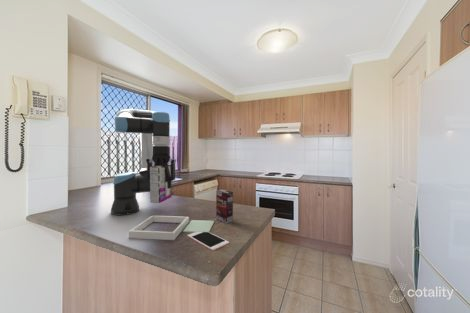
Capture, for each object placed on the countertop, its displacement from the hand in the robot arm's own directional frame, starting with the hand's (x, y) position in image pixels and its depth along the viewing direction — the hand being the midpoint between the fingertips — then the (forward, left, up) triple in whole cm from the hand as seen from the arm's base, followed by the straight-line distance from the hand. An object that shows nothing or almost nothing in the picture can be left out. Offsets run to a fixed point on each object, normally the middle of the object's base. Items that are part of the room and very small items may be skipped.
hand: (161, 194), depth 93 cm
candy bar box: (0, 0, -3) cm, 3 cm away
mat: (+17, +5, -17) cm, 24 cm away
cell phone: (+24, -8, -17) cm, 31 cm away
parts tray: (0, 0, -17) cm, 17 cm away
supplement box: (+28, +15, -17) cm, 36 cm away
